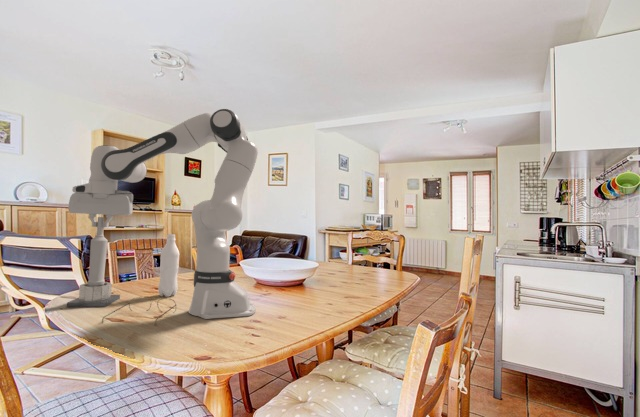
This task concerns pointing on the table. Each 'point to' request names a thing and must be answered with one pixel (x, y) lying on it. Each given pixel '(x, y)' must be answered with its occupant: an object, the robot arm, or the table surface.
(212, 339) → the table surface
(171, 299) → the eyeglasses
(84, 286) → the collar holder
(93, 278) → the bottle
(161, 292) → the water bottle
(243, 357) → the table surface
